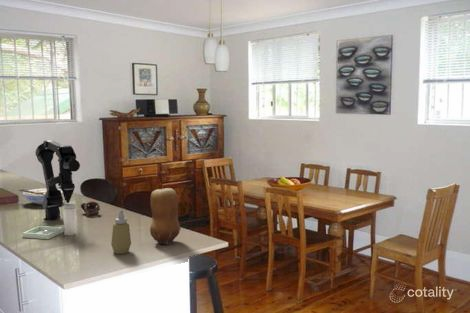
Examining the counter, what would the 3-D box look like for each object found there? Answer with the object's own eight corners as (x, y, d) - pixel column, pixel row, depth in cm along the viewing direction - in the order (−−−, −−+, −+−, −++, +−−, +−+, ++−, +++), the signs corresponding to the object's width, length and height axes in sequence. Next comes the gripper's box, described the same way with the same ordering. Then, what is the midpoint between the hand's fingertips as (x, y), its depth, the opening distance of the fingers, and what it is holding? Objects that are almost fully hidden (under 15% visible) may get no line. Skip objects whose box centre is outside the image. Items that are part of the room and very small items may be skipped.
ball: (40, 237, 202) (40, 230, 202) (45, 235, 205) (44, 228, 205) (47, 238, 201) (47, 231, 201) (51, 236, 205) (51, 229, 204)
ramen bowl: (72, 203, 276) (72, 190, 275) (39, 209, 257) (39, 195, 256) (47, 198, 289) (47, 185, 288) (14, 204, 270) (13, 190, 269)
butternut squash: (153, 238, 208) (153, 185, 205) (182, 239, 207) (182, 186, 204) (146, 247, 194) (147, 190, 191) (177, 248, 193) (178, 191, 191)
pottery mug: (103, 213, 254) (103, 202, 250) (94, 224, 247) (94, 213, 242) (85, 206, 256) (84, 196, 251) (75, 217, 249) (74, 206, 244)
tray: (22, 238, 202) (22, 232, 202) (39, 231, 214) (38, 225, 214) (48, 240, 200) (48, 234, 200) (63, 232, 213) (63, 227, 212)
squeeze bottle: (113, 249, 191) (112, 207, 189) (132, 249, 191) (132, 207, 189) (109, 255, 183) (109, 212, 181) (129, 255, 183) (129, 212, 181)
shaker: (61, 236, 207) (61, 206, 206) (67, 232, 213) (67, 203, 211) (72, 236, 206) (72, 206, 205) (78, 233, 212) (77, 204, 210)
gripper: (47, 170, 228) (48, 200, 228) (49, 173, 211) (50, 205, 212) (70, 169, 232) (71, 198, 233) (74, 171, 216) (75, 203, 216)
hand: (67, 201), depth 224 cm, fingers open, 9 cm apart
